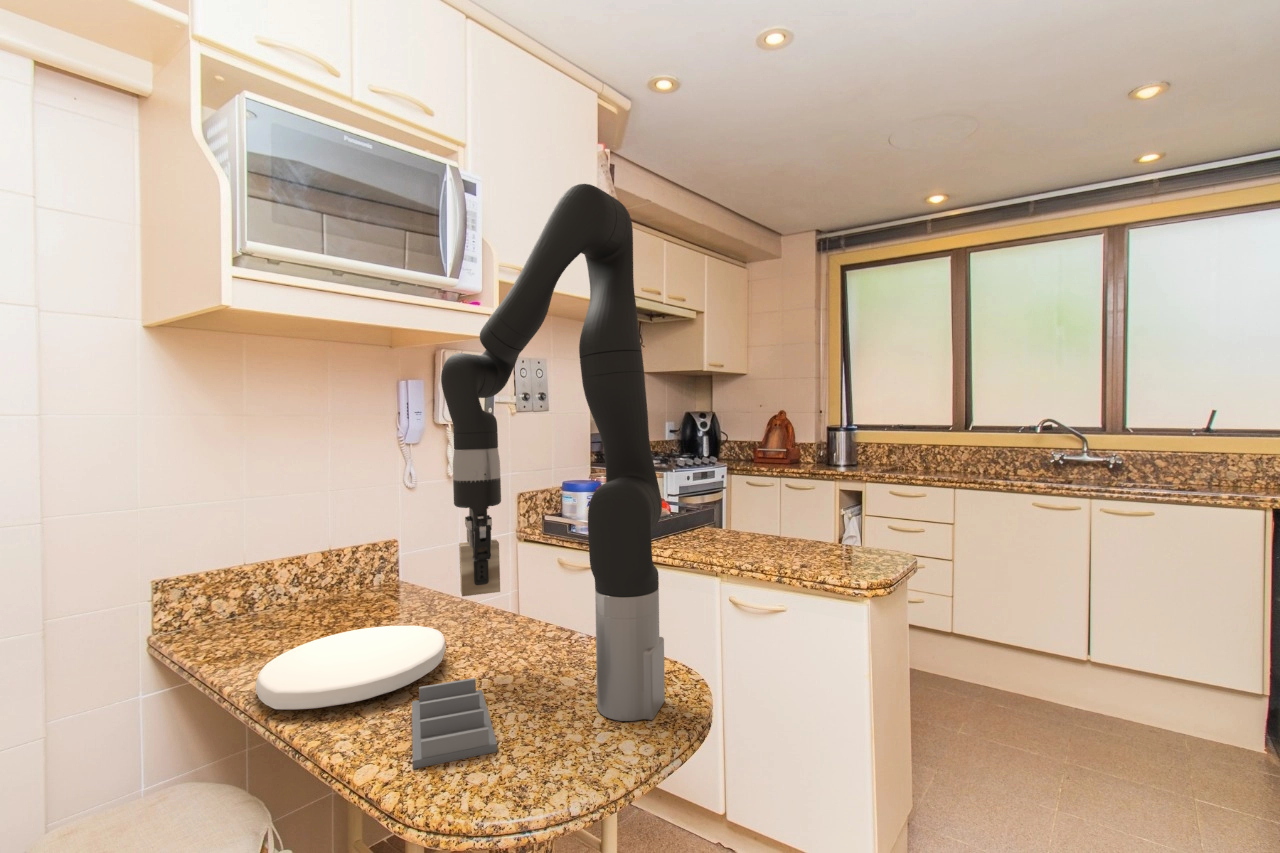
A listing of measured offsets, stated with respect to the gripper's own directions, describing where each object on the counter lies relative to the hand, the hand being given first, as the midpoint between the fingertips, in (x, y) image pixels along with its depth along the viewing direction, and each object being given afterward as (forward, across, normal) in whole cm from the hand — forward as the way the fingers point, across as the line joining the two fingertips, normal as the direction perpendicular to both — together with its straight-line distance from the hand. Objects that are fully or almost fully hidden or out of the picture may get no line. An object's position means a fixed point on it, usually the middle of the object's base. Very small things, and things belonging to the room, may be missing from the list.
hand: (480, 580), depth 100 cm
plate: (+16, +7, +19) cm, 26 cm away
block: (+2, 0, 0) cm, 2 cm away
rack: (+16, -16, +6) cm, 23 cm away
